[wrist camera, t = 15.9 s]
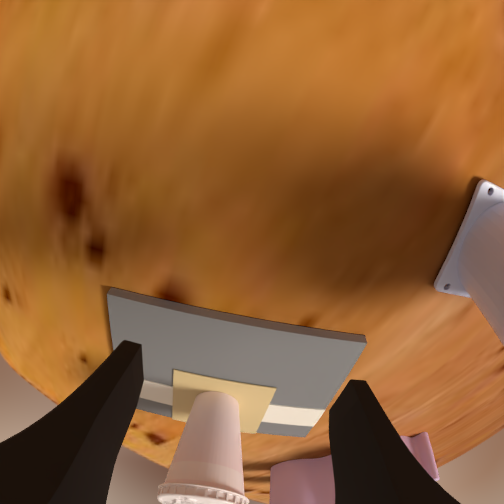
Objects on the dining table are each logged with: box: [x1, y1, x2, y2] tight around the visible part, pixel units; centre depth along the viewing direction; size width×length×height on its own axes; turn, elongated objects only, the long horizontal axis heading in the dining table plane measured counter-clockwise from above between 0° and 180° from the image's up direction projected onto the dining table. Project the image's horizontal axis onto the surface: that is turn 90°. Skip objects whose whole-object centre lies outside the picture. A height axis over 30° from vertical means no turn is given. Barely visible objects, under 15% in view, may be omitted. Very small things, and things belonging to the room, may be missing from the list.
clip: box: [270, 432, 439, 504], centre depth 30 cm, size 20×12×7 cm, turn 106°
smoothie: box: [157, 391, 249, 504], centre depth 18 cm, size 6×6×14 cm
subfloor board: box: [107, 287, 367, 437], centre depth 24 cm, size 18×14×1 cm
